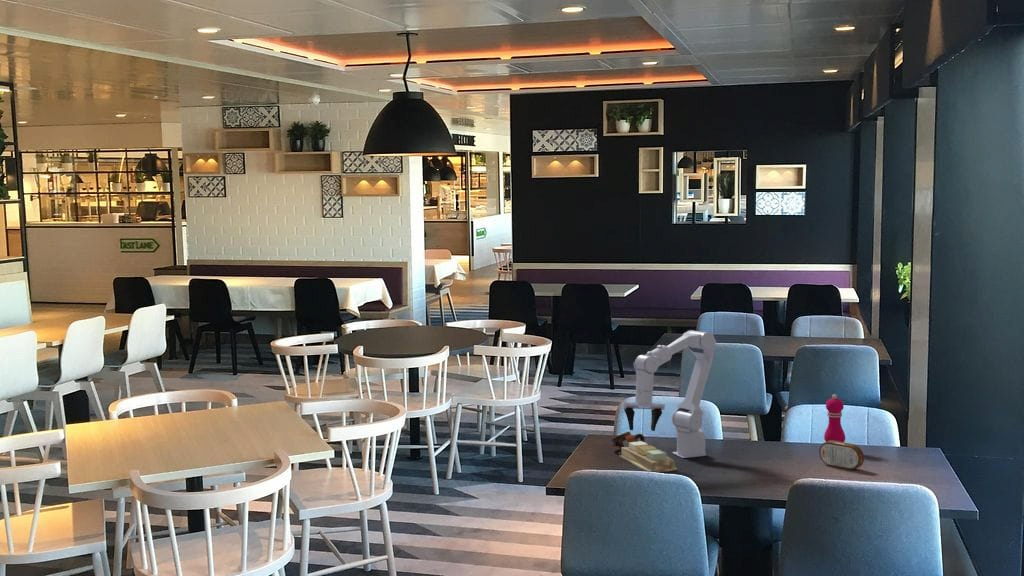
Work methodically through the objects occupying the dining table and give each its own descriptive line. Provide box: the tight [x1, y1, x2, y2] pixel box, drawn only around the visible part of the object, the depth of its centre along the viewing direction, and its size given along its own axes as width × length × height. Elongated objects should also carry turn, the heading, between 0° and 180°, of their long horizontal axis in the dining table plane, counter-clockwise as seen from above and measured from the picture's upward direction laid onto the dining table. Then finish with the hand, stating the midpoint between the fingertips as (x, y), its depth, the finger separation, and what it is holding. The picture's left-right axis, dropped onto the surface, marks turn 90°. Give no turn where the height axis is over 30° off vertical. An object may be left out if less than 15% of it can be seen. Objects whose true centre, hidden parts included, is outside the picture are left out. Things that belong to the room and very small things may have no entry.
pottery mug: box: [611, 431, 646, 450], centre depth 360 cm, size 12×9×8 cm
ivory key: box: [628, 440, 649, 452], centre depth 348 cm, size 5×5×2 cm
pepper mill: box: [823, 393, 846, 442], centre depth 354 cm, size 7×7×20 cm
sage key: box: [647, 449, 668, 461], centre depth 334 cm, size 5×5×2 cm
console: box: [618, 446, 678, 473], centre depth 341 cm, size 10×24×3 cm, turn 18°
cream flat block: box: [637, 444, 658, 456], centre depth 341 cm, size 5×5×2 cm
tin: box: [818, 440, 865, 471], centre depth 330 cm, size 15×3×8 cm, turn 43°
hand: (641, 430), depth 340 cm, fingers open, 7 cm apart
